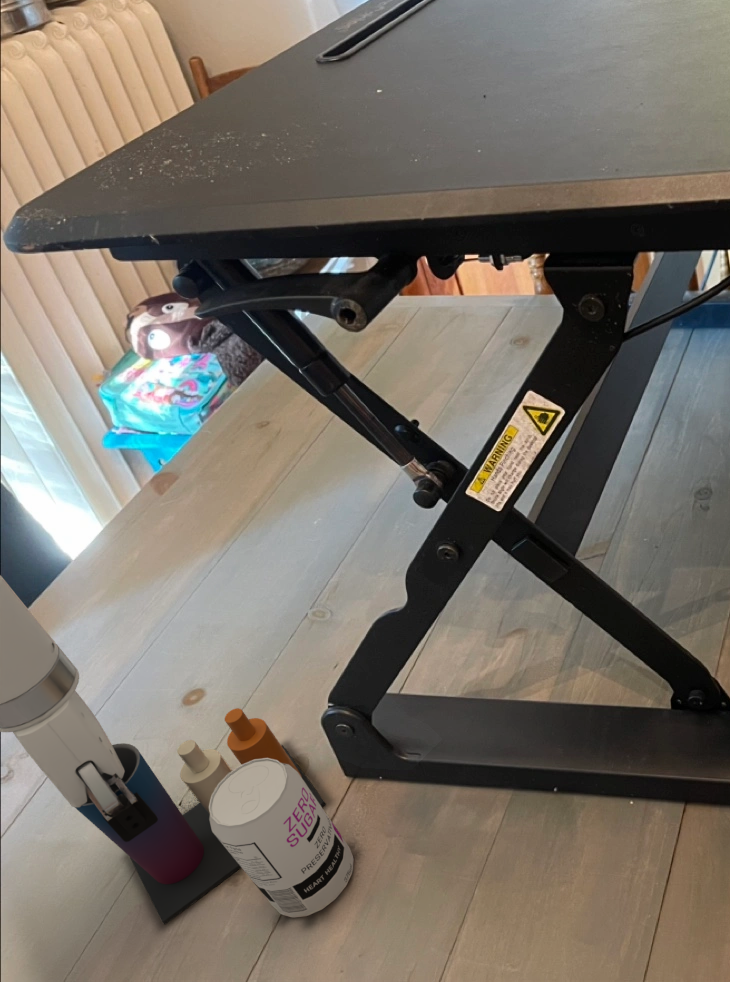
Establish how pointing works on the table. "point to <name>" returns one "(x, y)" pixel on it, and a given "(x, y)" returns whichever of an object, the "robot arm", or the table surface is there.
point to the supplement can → (280, 836)
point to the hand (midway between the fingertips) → (128, 804)
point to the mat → (208, 872)
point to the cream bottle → (202, 770)
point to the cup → (167, 842)
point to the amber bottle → (253, 739)
